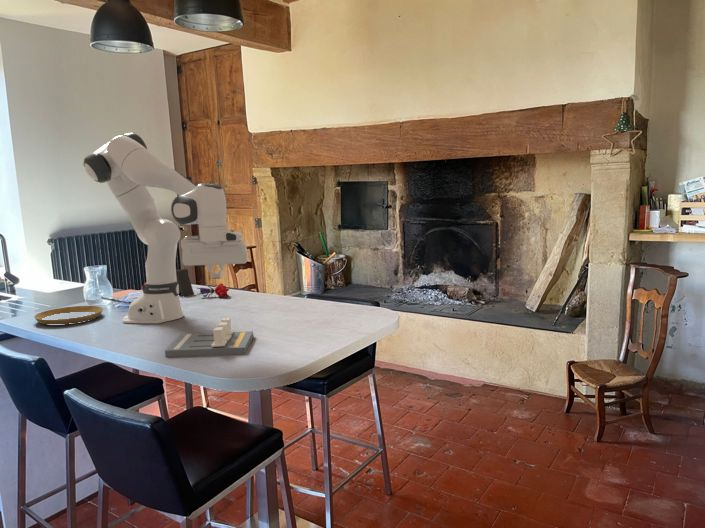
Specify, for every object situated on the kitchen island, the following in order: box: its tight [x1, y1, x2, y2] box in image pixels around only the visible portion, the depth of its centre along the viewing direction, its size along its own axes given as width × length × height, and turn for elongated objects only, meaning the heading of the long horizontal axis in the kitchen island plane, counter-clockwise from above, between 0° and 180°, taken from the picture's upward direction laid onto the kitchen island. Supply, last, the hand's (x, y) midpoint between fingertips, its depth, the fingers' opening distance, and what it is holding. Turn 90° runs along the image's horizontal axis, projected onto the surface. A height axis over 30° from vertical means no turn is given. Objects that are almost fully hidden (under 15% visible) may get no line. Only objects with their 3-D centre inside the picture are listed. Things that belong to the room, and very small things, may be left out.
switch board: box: [164, 330, 254, 358], centre depth 173 cm, size 24×18×2 cm
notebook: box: [112, 289, 138, 299], centre depth 252 cm, size 27×17×2 cm, turn 55°
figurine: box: [196, 283, 231, 298], centre depth 248 cm, size 6×8×15 cm
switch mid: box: [217, 321, 232, 341], centre depth 173 cm, size 4×4×5 cm
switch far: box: [220, 317, 235, 335], centre depth 179 cm, size 4×4×5 cm
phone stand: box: [176, 268, 195, 297], centre depth 256 cm, size 9×6×12 cm, turn 56°
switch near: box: [211, 327, 227, 347], centre depth 167 cm, size 4×4×5 cm
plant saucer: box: [33, 305, 104, 325], centre depth 214 cm, size 24×24×3 cm
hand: (216, 278), depth 172 cm, fingers closed
